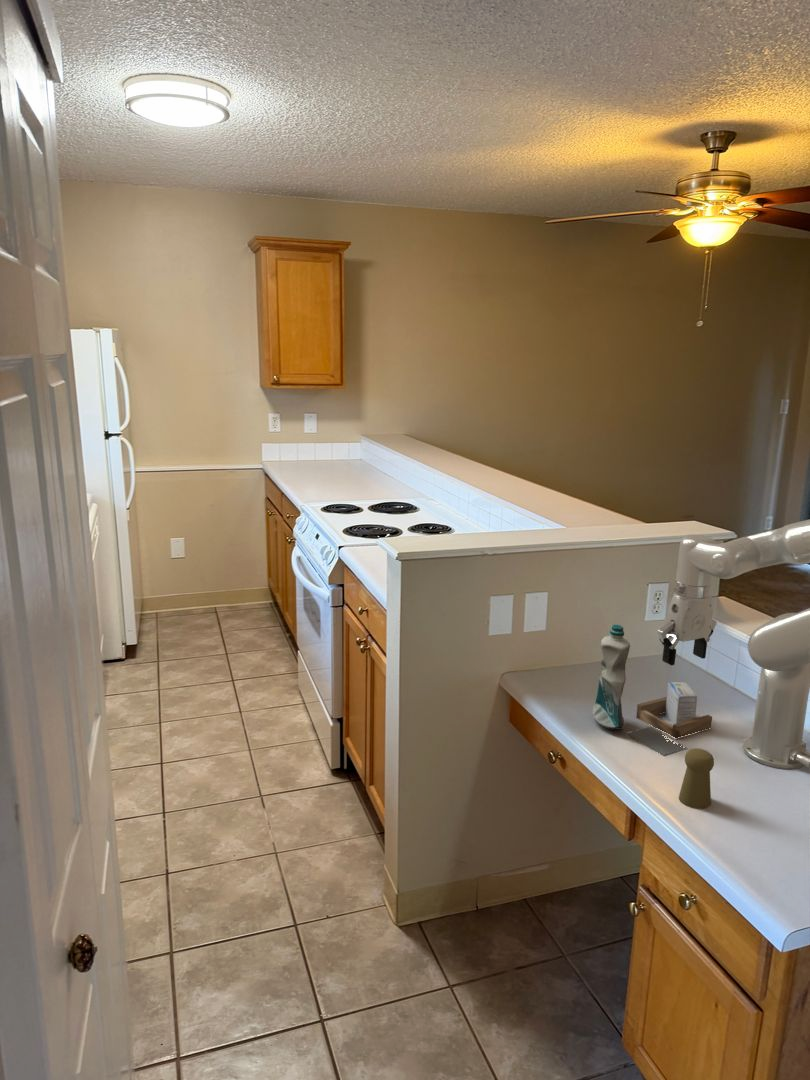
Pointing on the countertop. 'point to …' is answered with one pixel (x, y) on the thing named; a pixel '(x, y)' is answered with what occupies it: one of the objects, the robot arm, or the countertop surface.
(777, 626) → the robot arm
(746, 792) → the countertop surface
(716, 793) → the countertop surface
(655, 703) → the frame
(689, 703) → the medicine box
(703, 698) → the countertop surface
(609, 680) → the detergent
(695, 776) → the olive pawn figure
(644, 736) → the stand pad
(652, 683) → the countertop surface
